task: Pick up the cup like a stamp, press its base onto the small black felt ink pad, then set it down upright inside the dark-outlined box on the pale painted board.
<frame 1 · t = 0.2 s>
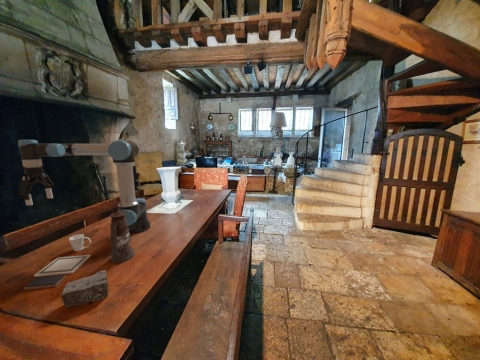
hand: (40, 201, 109), 28 cm above the table, fingers open, 13 cm apart
lantern: (123, 256, 101), on the table
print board: (65, 265, 93), on the table
stone block: (91, 296, 75), on the table
ink pad: (46, 283, 81), on the table
cup: (81, 249, 108), on the table
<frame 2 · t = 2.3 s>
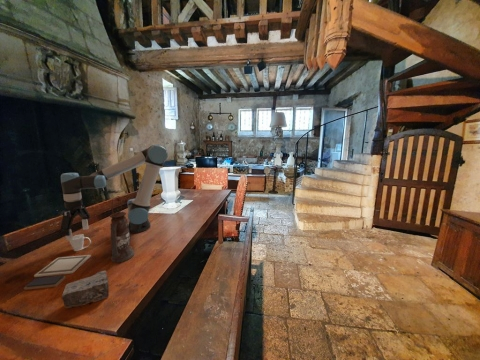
hand: (78, 234, 106), 10 cm above the table, fingers open, 13 cm apart
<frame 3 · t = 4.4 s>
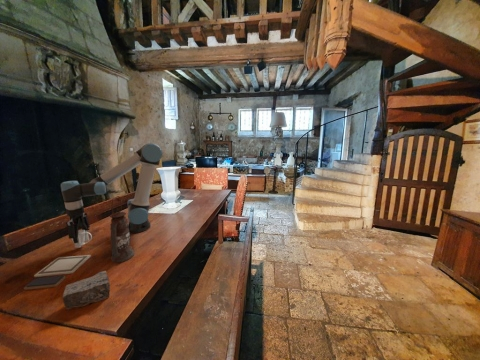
hand: (82, 243, 108), 3 cm above the table, fingers closed on cup, 6 cm apart
cup: (83, 244, 108), point 3 cm above the table, touching gripper
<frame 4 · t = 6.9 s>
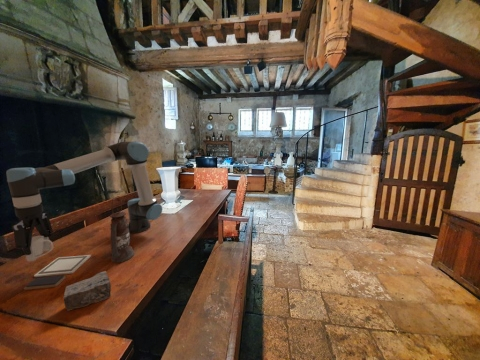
hand: (39, 255, 78), 14 cm above the table, fingers closed on cup, 6 cm apart
cup: (40, 256, 79), point 14 cm above the table, touching gripper
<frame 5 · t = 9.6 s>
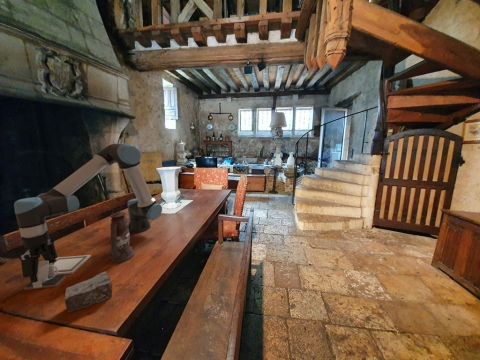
hand: (45, 281, 81), 1 cm above the table, fingers closed on cup, 6 cm apart
cup: (45, 280, 81), point 1 cm above the table, touching gripper, ink pad
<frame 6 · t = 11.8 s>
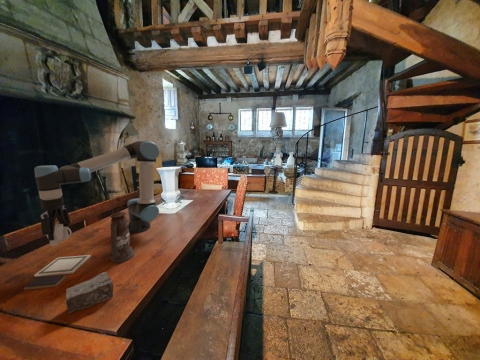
hand: (60, 241, 90), 14 cm above the table, fingers closed on cup, 6 cm apart
cup: (60, 241, 91), point 14 cm above the table, touching gripper
when the fingers open (2 cm above the table, at t = 14.1 s): cup drops 1 cm, resting on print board.
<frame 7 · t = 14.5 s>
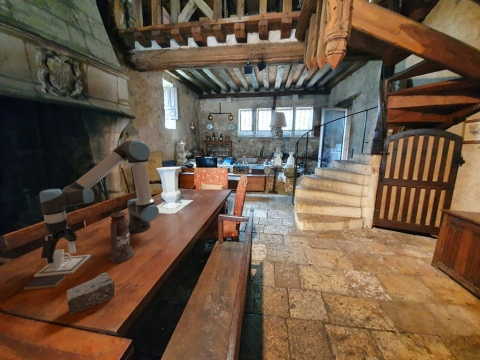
hand: (63, 259, 92), 3 cm above the table, fingers open, 12 cm apart
cup: (60, 267, 91), point 1 cm above the table, touching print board
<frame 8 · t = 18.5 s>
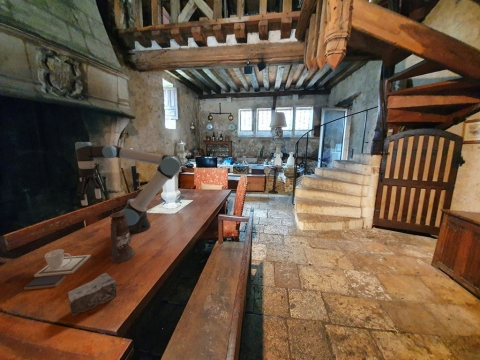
hand: (92, 201, 112), 27 cm above the table, fingers open, 13 cm apart
at the end: cup inside the target area on the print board (1.9 cm from its centre), point 0.6 cm above the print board's base; cup tilted 0°; the gripper is holding nothing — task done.
